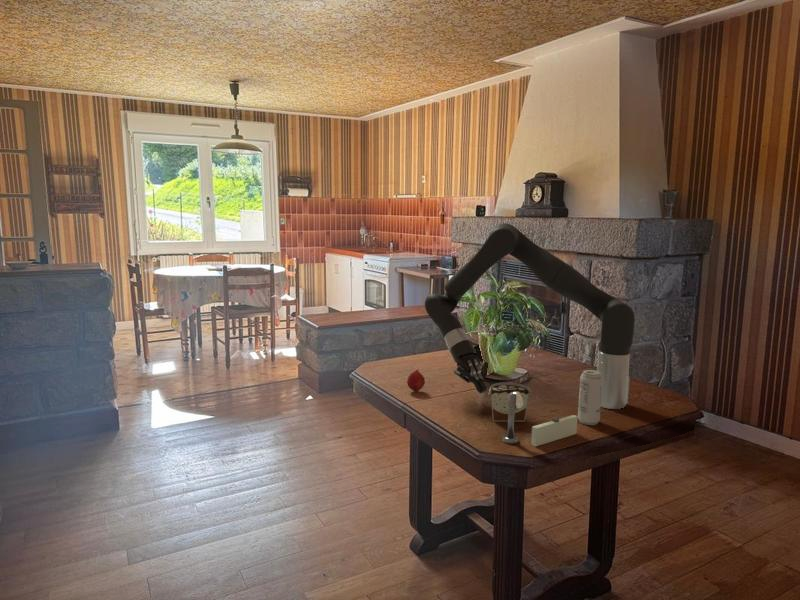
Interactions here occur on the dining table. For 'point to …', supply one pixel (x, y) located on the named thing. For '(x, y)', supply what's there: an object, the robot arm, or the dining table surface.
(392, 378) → the dining table surface
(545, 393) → the dining table surface
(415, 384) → the onion
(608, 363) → the robot arm
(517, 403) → the post
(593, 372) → the energy drink can
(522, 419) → the food container
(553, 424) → the rail
